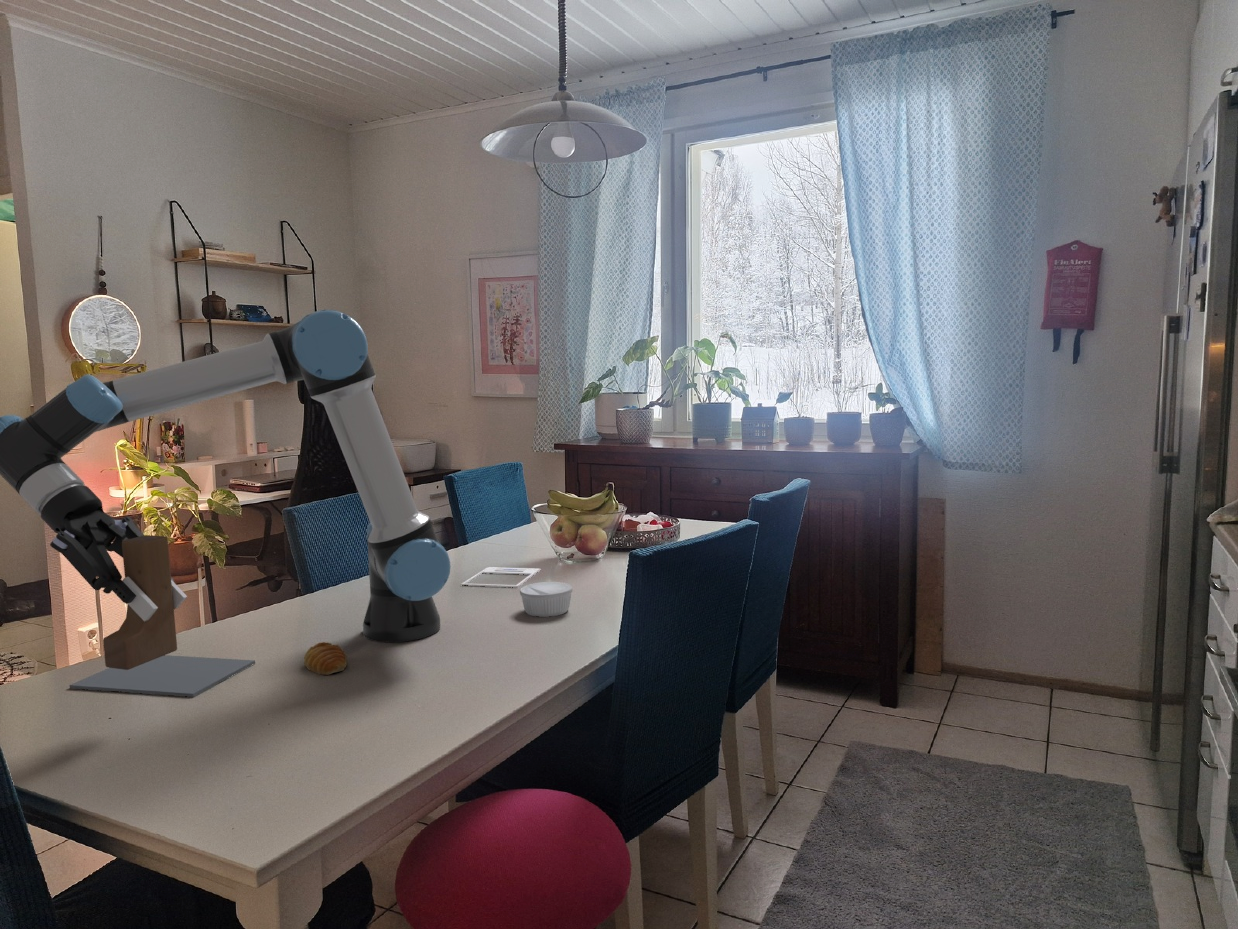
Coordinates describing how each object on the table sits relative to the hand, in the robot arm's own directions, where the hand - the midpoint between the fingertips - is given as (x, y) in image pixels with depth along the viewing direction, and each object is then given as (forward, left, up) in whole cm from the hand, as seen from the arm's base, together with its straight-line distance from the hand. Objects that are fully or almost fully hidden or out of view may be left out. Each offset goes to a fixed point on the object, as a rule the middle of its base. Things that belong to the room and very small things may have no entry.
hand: (166, 608), depth 127 cm
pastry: (-11, -25, -18) cm, 33 cm away
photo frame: (-20, -91, -18) cm, 95 cm away
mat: (+15, -16, -17) cm, 28 cm away
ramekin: (-40, -64, -18) cm, 78 cm away
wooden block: (+3, +2, -8) cm, 8 cm away
